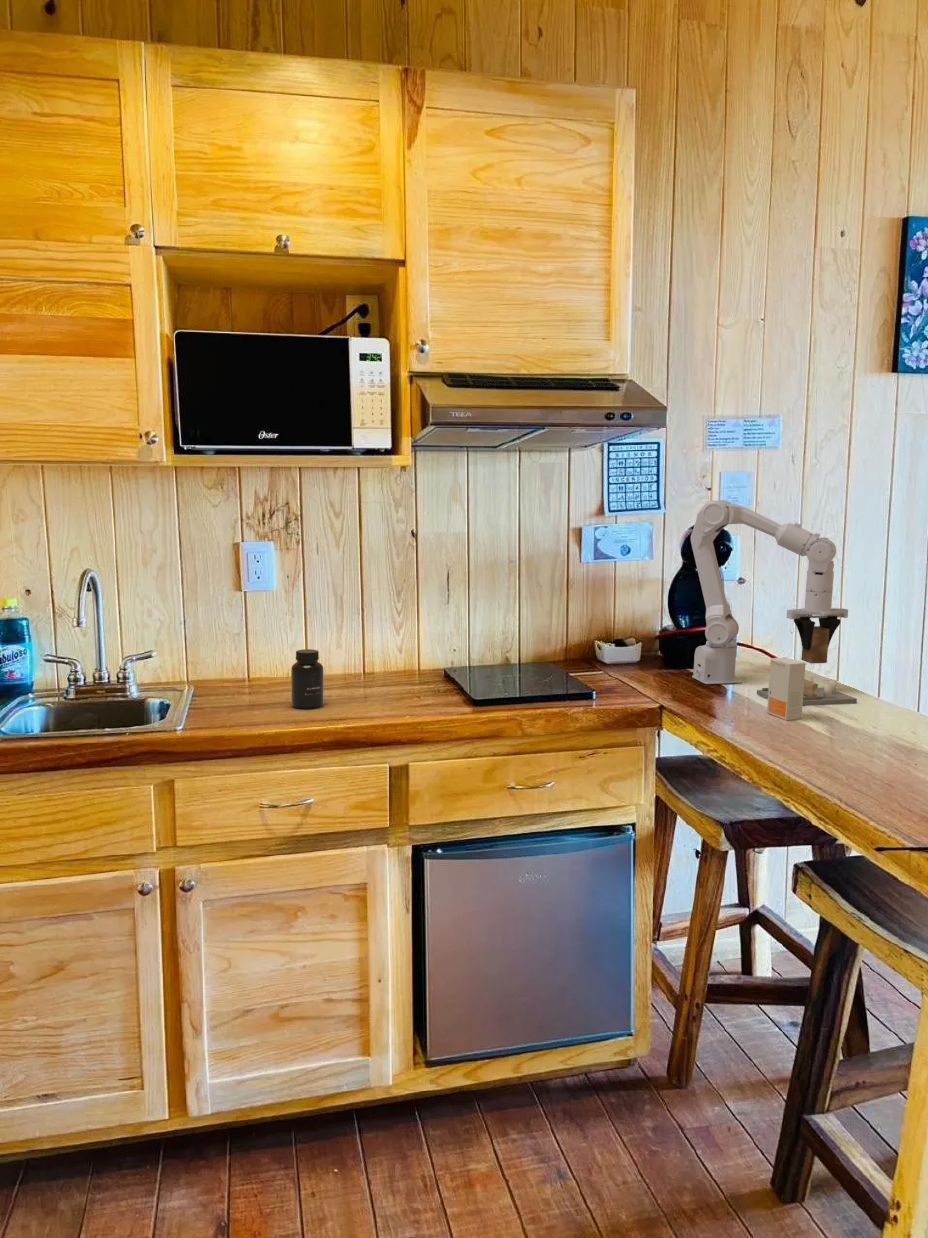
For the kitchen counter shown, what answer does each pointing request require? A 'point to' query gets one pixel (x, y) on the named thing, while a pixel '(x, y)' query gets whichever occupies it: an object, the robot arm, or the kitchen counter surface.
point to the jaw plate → (810, 688)
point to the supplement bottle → (307, 680)
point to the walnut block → (817, 646)
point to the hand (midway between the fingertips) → (814, 648)
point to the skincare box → (786, 688)
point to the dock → (820, 695)
